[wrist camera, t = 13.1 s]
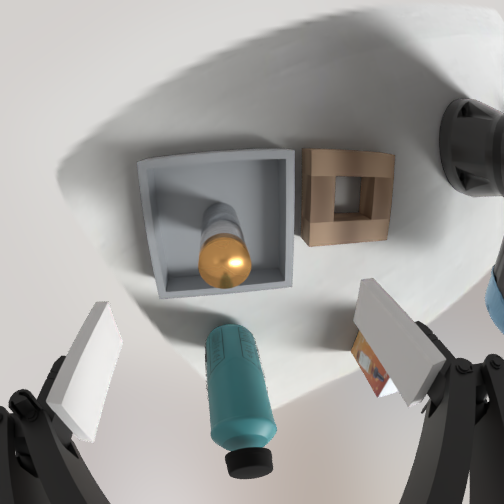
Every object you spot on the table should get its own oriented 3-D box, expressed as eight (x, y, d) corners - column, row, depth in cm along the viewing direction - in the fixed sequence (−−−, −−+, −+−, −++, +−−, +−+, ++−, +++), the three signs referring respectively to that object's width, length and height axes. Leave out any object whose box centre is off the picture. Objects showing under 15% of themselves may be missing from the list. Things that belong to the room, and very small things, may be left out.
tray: (283, 148, 27) (294, 150, 23) (283, 269, 33) (292, 286, 29) (147, 158, 25) (136, 161, 22) (164, 280, 31) (159, 299, 27)
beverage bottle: (197, 323, 34) (198, 470, 16) (246, 308, 34) (280, 455, 16) (215, 356, 37) (226, 488, 19) (259, 343, 37) (294, 475, 19)
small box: (363, 312, 38) (399, 359, 28) (392, 309, 39) (428, 351, 29) (349, 351, 41) (376, 399, 31) (376, 347, 42) (405, 390, 32)
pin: (236, 201, 27) (250, 238, 18) (238, 234, 29) (252, 286, 19) (200, 204, 27) (195, 243, 18) (204, 237, 29) (201, 291, 19)
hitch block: (380, 152, 28) (394, 155, 26) (374, 231, 32) (386, 240, 30) (301, 148, 27) (311, 149, 24) (300, 236, 31) (309, 246, 28)
